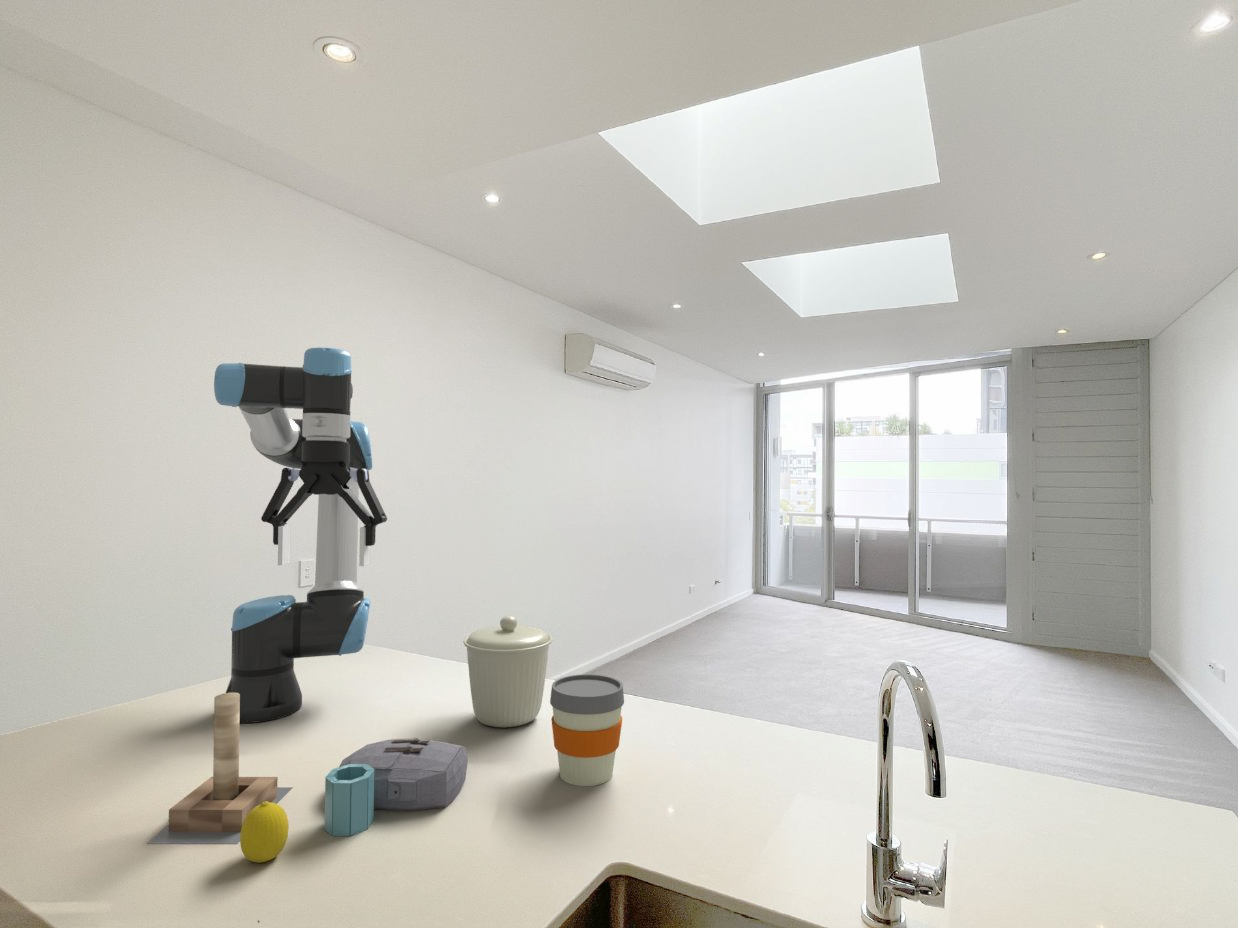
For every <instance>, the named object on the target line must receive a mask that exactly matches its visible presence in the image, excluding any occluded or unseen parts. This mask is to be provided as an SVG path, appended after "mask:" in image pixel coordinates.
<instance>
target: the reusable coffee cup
mask: <svg viewBox="0 0 1238 928" xmlns="http://www.w3.org/2000/svg"><path fill="white" fill-rule="evenodd" d="M549 699H550V700H549V703H550V705H551V707H552V714H553V715H552V717H551V728H552V736H553V739H552V740H553V746H554V748H555V750H556V751H557V752H556V753H557V761H558V770H559V777H560V779H561V780H562V781H563V780H564V781H563V782H565V783H567V784H570V785H572V786H573V785H574V786H579V787H594V786H599V785H602V784H604V783H606V782H608V781H610V780H611V779H612V778H613V772H614V765H615V759H616V752H617V751H616V750H617V749H618V748H619V746H620V740H621V731H622V723H623V716H622V715H621V714H622V707H623V706H624V703H625V696H624V685H623V683H622V682H621V681H620V680H619V679H617V678H615V677H612V676H608V675H603V674H602V675H601V674H590V673H588V674H587V673H585V674H584V673H583V674H573V675H568V676H564V677H563V676H562V677H560V678H558V679H556V680H555V681H554V682H552V684H551V691H550V698H549Z"/></svg>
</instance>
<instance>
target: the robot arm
mask: <svg viewBox="0 0 1238 928" xmlns="http://www.w3.org/2000/svg"><path fill="white" fill-rule="evenodd" d="M351 356H352V355H351V354H350V352H348V351H346V350H344V349H341V348H340V349H339V348H334V347H333V348H332V347H320V346H319V347H310V348H307V349H306V350H305V351H304V353H303V364H302V367H301V366H284V365H283V366H281V365H280V366H279V365H268V364H264V365H263V364H253V363H242V362H238V363H237V362H236V363H233V362H231V363H230V362H229V363H224V362H223V363H221V364H218V365H217V366H216V368H215V371H214V376H213V377H214V378H213V379H214V380H213V390H214V397H215V400H216V403H218V404H219V405H221V406H227V407H233V408H234V407H235V408H237V407H238V408H239V410H240V412H241V414H242V415H243V417H244V419H245V422H246V423H247V425H248V427H249V429H250V432H249V436H250V441H251V444H252V445H253V447H254V448H255V450H256V451H257V452H258V453H259V454H260V455H262V456H263V457H265V458H266V459H268V460H270V461H272V462H273V463H275V464H278V465H280V466H283V468H282V469H281V476H280V481H279V483H278V485H277V487H276V489H275V491H274V493H273V495H272V497H271V498H270V500H269V502H268V504H267V506H266V508H265V510H264V512H263V514H262V516H261V518H260V519H261V521H262V522H263V523H268V524H270V525H271V526H272V542H273V545H274V546H277V566H285V565H289V564H290V563H291V525H289V524H288V523H287V522H288V521H289V520H290V519H291V517H293V515H294V514H295V513H296V512H298V510H299V509H300V507H302V506H303V504H304V503H305V502H306V501H307V500H308V499H309V497H311V496H312V495H315V496H316V495H317V496H318V502H317V503H318V504H317V521H316V522H317V528H316V548H315V549H316V550H315V551H316V552H315V570H314V571H315V574H314V576H315V577H314V586H313V587H312V588H311V589H309V591H308V592H307V593H306V601H302V602H297V600H296V598H295V596H294V595H291V594H288V595H286V594H283V595H282V594H281V595H274V596H266V597H261V598H257V599H253V600H249V601H246V602H244V603H242V604H240V605H239V606H237V607H236V608H235V609H234V611H233V613H232V621H231V622H232V624H231V628H230V630H231V671H230V675H231V676H230V679H229V681H228V684H227V688H226V690H225V693H239V694H240V719H239V724H240V723H242V724H246V723H247V724H249V723H260V722H265V721H266V722H267V721H272V720H276V719H281V718H283V717H287V716H289V715H291V714H293V713H296V712H298V711H299V709H300V710H301V708H302V706H303V694H302V690H301V688H300V685H299V682H298V679H297V676H296V673H295V670H294V669H295V667H294V664H295V663H294V661H295V659H301V658H315V657H328V656H330V657H331V656H342V655H349V654H355V653H359V652H361V650H362V649H363V648H364V644H365V639H366V634H367V633H366V632H367V626H368V620H369V613H370V606H371V599H370V598H367V597H364V593H365V592H364V589H363V588H362V587H361V586H360V585H358V583H357V581H358V564H359V567H366V566H368V565H370V556H371V555H370V554H371V553H370V549H371V547H373V546H375V544H376V529H377V526H378V525H380V524H383V523H386V522H387V521H388V517H387V515H386V513H385V511H384V509H383V507H382V504H381V502H380V501H379V498H378V496H377V494H376V492H375V489H374V488H373V486H372V483H371V482H370V473H369V471H370V470H372V469H373V458H372V457H373V456H372V447H371V446H372V445H371V438H370V431H369V429H368V426H367V424H365V423H364V422H363V421H351V400H352V398H353V394H354V393H353V392H354V391H353V388H354V387H353V384H352V372H353V367H352V357H351ZM287 409H294V410H295V409H299V410H301V409H302V418H290V417H289V415H288V411H287ZM298 478H300V479H301V481H302V483H303V484H301V486H300V487H299V488H298V490H297V491H296V493H295V494H294V496H293V497H292V498H291V499H290V500H289V502H287V504H286V505H285V506H284V507H283V505H284V503H285V501H286V499H287V498H288V495H289V493H290V491H291V490H292V488H293V485H294V483H295V482H296V481H297V480H298ZM359 490H360V492H361V494H362V496H363V498H364V501H365V502H366V505H367V506H368V508H369V510H370V511H369V510H368V508H366V506H365V505H364V504H363V502H361V500H360V499H359V498H360V497H359ZM282 507H283V508H282ZM359 520H360V521H361V523H363V526H361V527H359ZM358 531H359V532H358ZM358 533H359V534H358ZM358 535H359V537H358ZM358 538H359V539H358ZM358 540H359V542H358ZM358 543H359V556H358ZM358 557H359V563H358Z"/></svg>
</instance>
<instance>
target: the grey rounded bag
mask: <svg viewBox="0 0 1238 928" xmlns="http://www.w3.org/2000/svg"><path fill="white" fill-rule="evenodd" d="M467 754H468V753H467V750H466V747H465V746H464V745H459V744H454V743H449V742H444V741H437V740H431V739H429V740H428V739H420V738H419V737H418V738H417V737H416V738H415V737H414V738H390V739H386V740H381V741H378V742H372V743H368V744H366V745H364V746H362V747H361V748H360V749H357V750H356V751H355V752H353V753H351V754H350V755H348V756H347V757H345V758H344V759H343V760H342V761H341V762H340V764H339V766H338V767H341V766H345V765H348V764H349V765H350V764H367V765H369V766H370V767H372V768H373V769H374V810H385V811H386V810H387V811H422V810H429V809H443V808H447V807H448V806H449V805H450V804H451V803H452V802H454V801H455V799H456V798H457V797H458V795H459V794H460V792H461V790H462V789H463V787H464V785H465V781H466V779H467V778H466V776H467V771H468V770H467V769H468V755H467Z"/></svg>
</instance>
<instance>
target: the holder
mask: <svg viewBox="0 0 1238 928" xmlns="http://www.w3.org/2000/svg"><path fill="white" fill-rule="evenodd" d="M277 787H278V776H239V789H238V797H236V798H235V799H234V800H213V776H211V777H209V778H208V779H207V780H206V781H204V782H203V783H202V784H200V785H199V786H197V787H196V788H195V789H194V790H192V791H191V792H189V793H188V795H186V796H185V797H183V798H182V799H181V800H179V801H178V802H177V803H176V804H175V805H173V806H171V808H169V809H168V826H169V830H168V832H241V829H242V825H243V822H244V820H245V818H246V816H247V815H248V813H249V812H250V811H251V810H252V809H253V808H255V807H256V806H258V805H260V804H262V803H263V802H264V801H268V802H270V803H271V802H272V801H273V800H274V799H275V798H276V797H277Z"/></svg>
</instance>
